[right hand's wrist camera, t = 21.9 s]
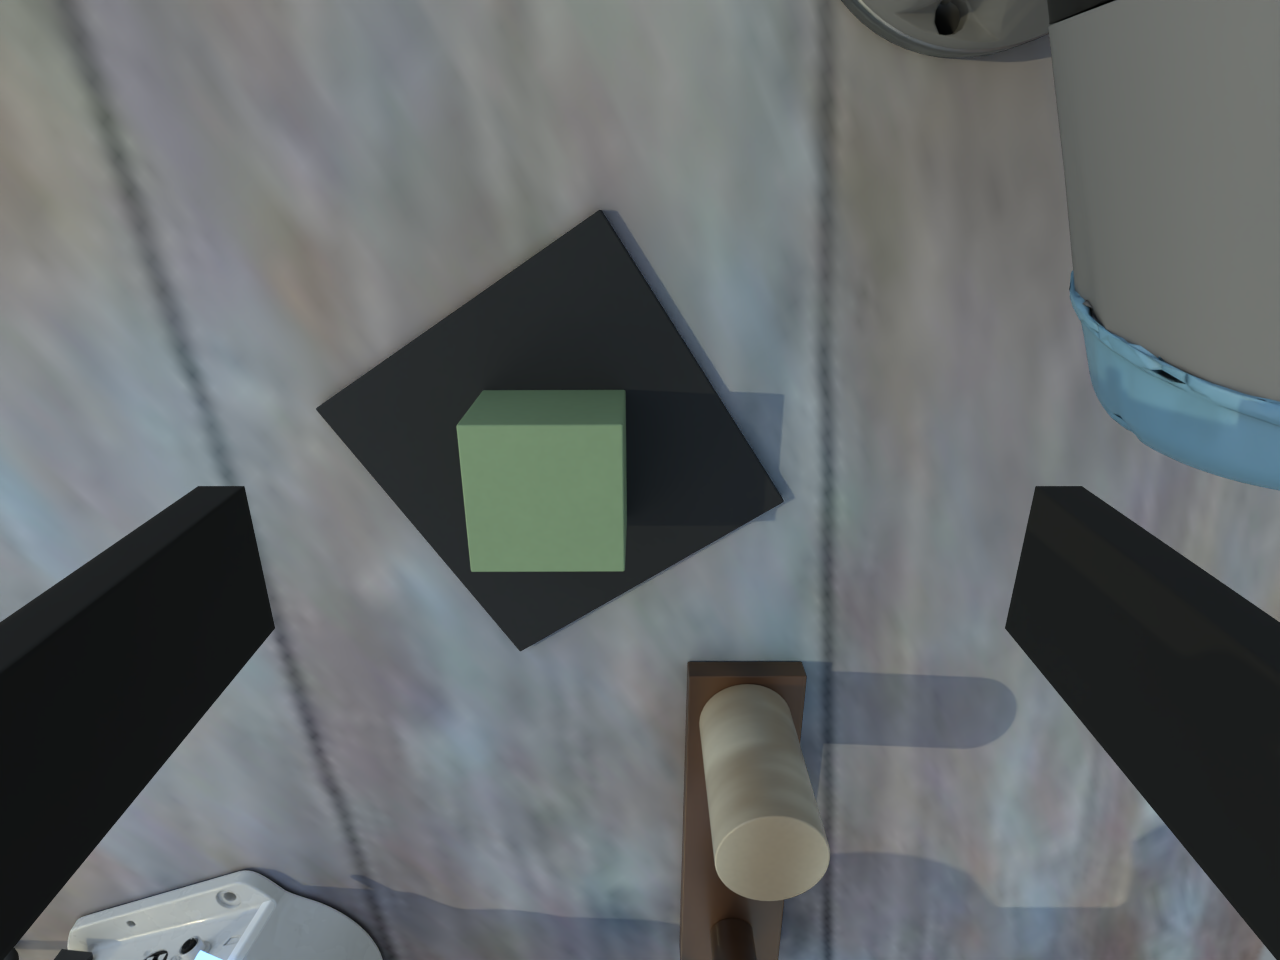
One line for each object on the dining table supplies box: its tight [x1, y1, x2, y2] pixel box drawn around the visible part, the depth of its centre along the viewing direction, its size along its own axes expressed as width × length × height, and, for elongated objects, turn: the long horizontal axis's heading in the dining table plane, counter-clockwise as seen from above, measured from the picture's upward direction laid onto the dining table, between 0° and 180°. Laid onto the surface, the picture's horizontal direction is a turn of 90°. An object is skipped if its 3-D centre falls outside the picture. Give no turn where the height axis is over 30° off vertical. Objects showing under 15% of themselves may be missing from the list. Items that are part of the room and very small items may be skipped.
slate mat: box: [316, 210, 783, 651], centre depth 40 cm, size 18×18×1 cm
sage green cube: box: [456, 390, 627, 572], centre depth 37 cm, size 7×7×6 cm
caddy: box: [680, 662, 830, 960], centre depth 45 cm, size 7×25×12 cm, turn 0°
